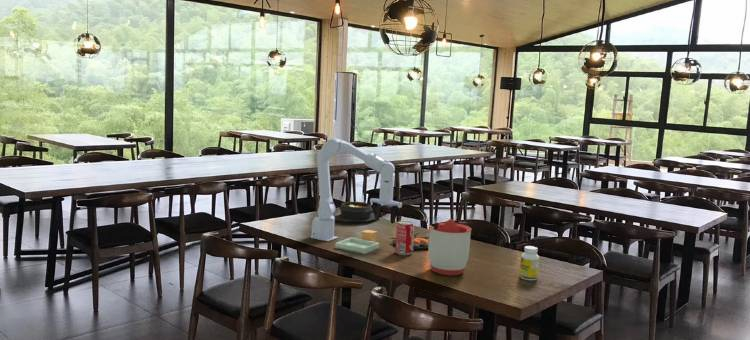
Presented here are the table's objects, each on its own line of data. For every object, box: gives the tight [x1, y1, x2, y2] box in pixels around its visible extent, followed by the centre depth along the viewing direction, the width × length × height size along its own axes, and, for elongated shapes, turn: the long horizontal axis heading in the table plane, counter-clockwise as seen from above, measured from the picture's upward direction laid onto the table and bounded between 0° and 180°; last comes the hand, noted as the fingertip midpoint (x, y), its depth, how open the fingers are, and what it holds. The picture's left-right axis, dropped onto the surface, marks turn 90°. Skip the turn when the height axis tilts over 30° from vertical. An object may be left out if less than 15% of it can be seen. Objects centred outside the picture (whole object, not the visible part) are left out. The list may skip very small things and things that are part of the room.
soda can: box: [395, 220, 415, 256], centre depth 245 cm, size 7×7×13 cm
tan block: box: [360, 229, 378, 243], centre depth 260 cm, size 5×5×5 cm
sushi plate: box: [390, 232, 429, 250], centre depth 267 cm, size 29×30×4 cm
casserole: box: [333, 201, 375, 224], centre depth 300 cm, size 25×19×8 cm
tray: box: [334, 237, 380, 255], centre depth 250 cm, size 14×12×2 cm
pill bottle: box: [519, 245, 540, 281], centre depth 221 cm, size 6×6×12 cm
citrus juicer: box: [425, 218, 473, 277], centre depth 224 cm, size 16×17×20 cm
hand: (384, 221), depth 259 cm, fingers open, 7 cm apart
